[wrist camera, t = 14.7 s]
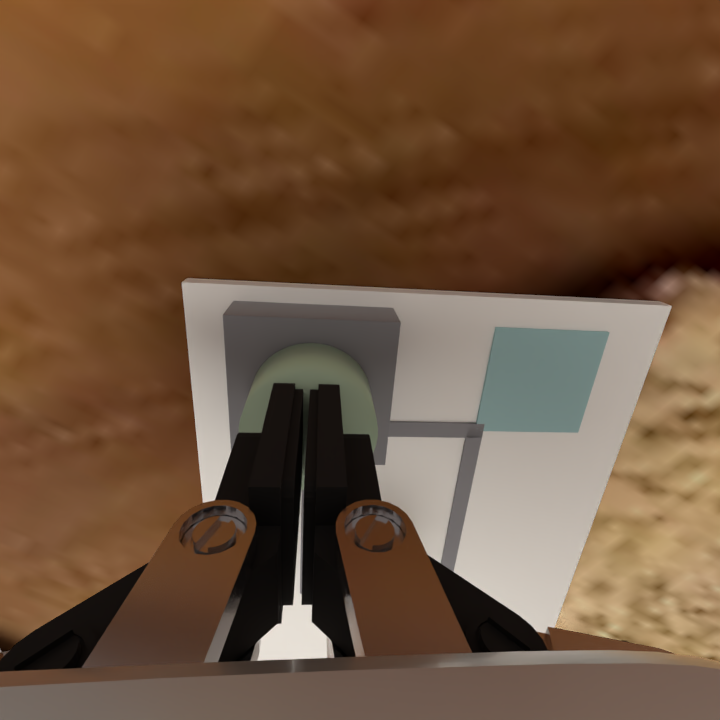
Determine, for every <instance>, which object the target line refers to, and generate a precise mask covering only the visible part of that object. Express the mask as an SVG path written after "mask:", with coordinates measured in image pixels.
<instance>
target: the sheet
mask: <svg viewBox="0 0 720 720" xmlns="http://www.w3.org/2000/svg"><path fill="white" fill-rule="evenodd" d="M182 292H183V302H184V312H185V323H186V333H187V343H188V354H189V364H190V374H191V384H192V395H193V405H194V415H195V426H196V436H197V446H198V457H199V467H200V477H201V487H202V498H203V503H205V502H209V501H214V500H215V498H216V495H217V492H218V489H219V486H220V483H221V480H222V477H223V474H224V471H225V468H226V465H227V462H228V459H229V457H230V454H231V443H230V427H229V410H228V394H227V377H226V361H225V344H224V328H223V314H224V313H225V311H226V310H227V309H228V307H229V306H230V305H231V303H232V302H233V301H252V302H275V303H297V304H319V305H342V306H364V307H387V308H393V309H394V310H395V312H396V314H397V316H398V318H399V320H400V322H401V325H400V334H399V343H398V353H397V362H396V371H395V380H394V389H393V398H392V407H391V416H390V425H389V434H388V443H387V452H386V461H385V465H375V467H376V472H377V478H378V483H379V489H380V495H381V500H382V501H385V502H389V503H391V504H393V505H395V506H397V507H399V508H400V509H401V510H403V511H404V512H405V513H406V514H407V515H408V516H409V518H410V519H411V521H412V522H413V524H414V527H415V529H416V531H417V533H418V535H419V537H420V540H421V542H422V544H423V546H424V548H425V551H426V553H427V555H429V556H430V557H432V558H433V559H435V560H436V561H438V562H439V563H441V564H442V565H444V566H445V567H447V568H448V569H450V570H451V571H453V572H454V573H456V574H458V575H459V576H461V577H462V578H464V579H465V580H467V581H468V582H470V583H471V584H473V585H474V586H476V587H477V588H479V589H480V590H482V591H483V592H485V593H486V594H488V595H489V596H491V597H492V598H494V599H495V600H497V601H498V602H500V603H501V604H503V605H504V606H506V607H507V608H509V609H510V610H512V611H513V612H515V613H516V614H518V615H519V616H520V617H522V618H523V619H524V620H525V621H527V622H528V623H529V624H530V625H531V626H532V627H533V628H534V629H535V630H536V632H541V633H546V630H547V627H552V628H554V627H555V625H556V622H557V619H558V616H559V614H560V611H561V608H562V605H563V603H564V600H565V597H566V595H567V592H568V589H569V586H570V584H571V581H572V578H573V575H574V573H575V570H576V567H577V564H578V562H579V559H580V556H581V554H582V551H583V548H584V545H585V543H586V540H587V537H588V534H589V532H590V529H591V526H592V523H593V521H594V518H595V515H596V512H597V510H598V507H599V504H600V502H601V499H602V496H603V493H604V491H605V488H606V485H607V482H608V480H609V477H610V474H611V471H612V469H613V466H614V463H615V461H616V458H617V455H618V452H619V450H620V447H621V444H622V441H623V439H624V436H625V433H626V430H627V428H628V425H629V422H630V420H631V417H632V414H633V411H634V409H635V406H636V403H637V400H638V398H639V395H640V392H641V389H642V387H643V384H644V381H645V379H646V376H647V373H648V370H649V368H650V365H651V362H652V359H653V357H654V354H655V351H656V348H657V346H658V343H659V340H660V338H661V335H662V332H663V329H664V327H665V324H666V321H667V318H668V316H669V313H670V310H671V307H672V306H671V305H668V304H666V303H663V302H660V301H646V300H626V299H606V298H585V297H565V296H545V295H524V294H504V293H484V292H463V291H443V290H423V289H402V288H382V287H362V286H341V285H321V284H301V283H281V282H260V281H240V280H220V279H199V278H187V279H185V280H184V281H183V282H182ZM303 503H304V490H301V501H300V515H299V529H298V544H297V558H296V572H295V586H294V600H293V605H284V606H283V612H282V622H281V624H277V625H275V626H274V627H273V628H272V629H271V630H270V631H269V632H268V633H267V634H265V635H264V636H263V637H262V638H261V644H260V652H259V656H258V660H257V661H260V660H285V659H311V658H327V636H326V635H325V634H324V633H323V632H322V631H321V630H320V629H319V628H318V627H317V626H316V625H314V624H313V623H312V605H302V553H303Z"/></svg>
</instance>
